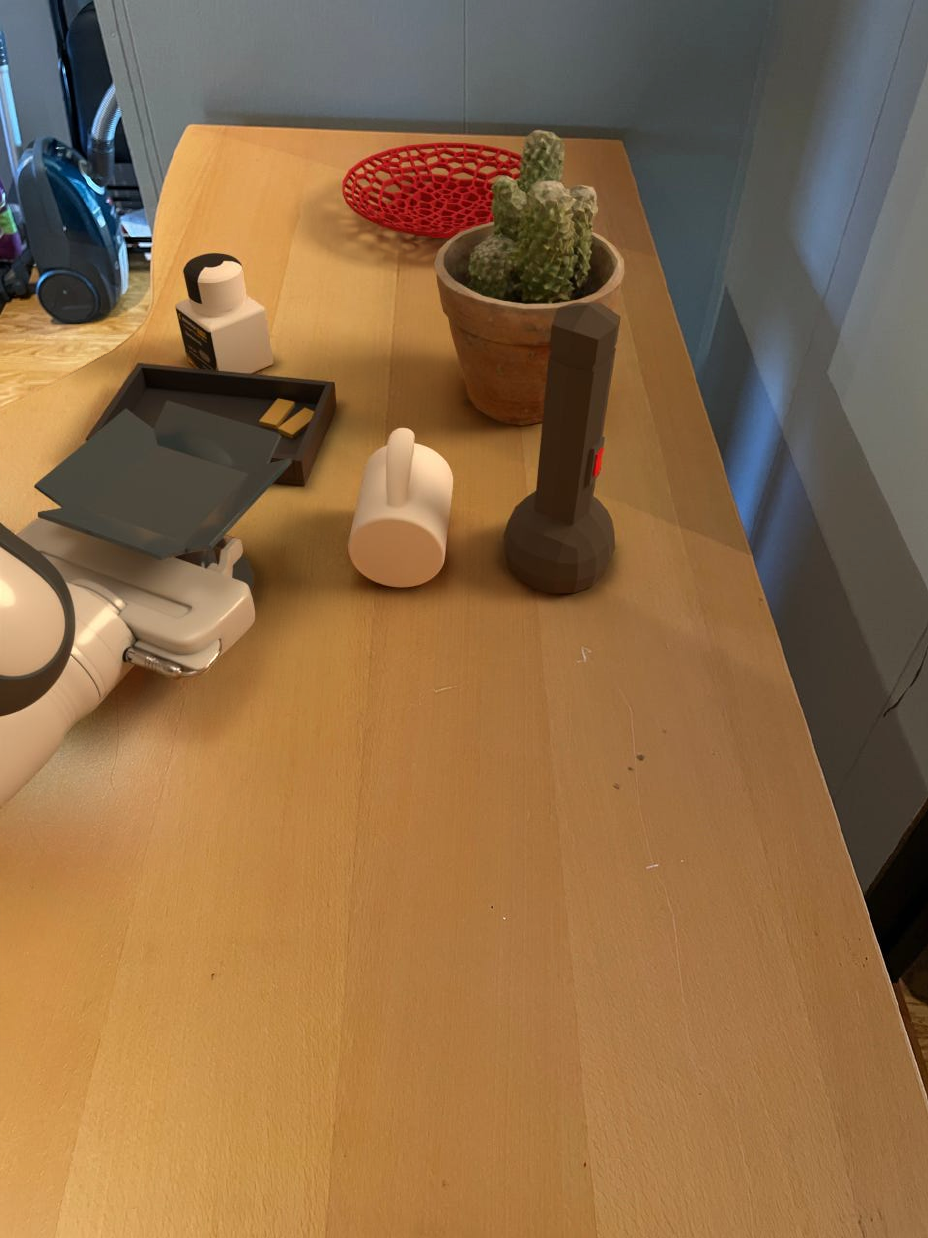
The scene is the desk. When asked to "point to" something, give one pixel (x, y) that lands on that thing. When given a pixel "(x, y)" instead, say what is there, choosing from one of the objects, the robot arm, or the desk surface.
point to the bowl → (429, 189)
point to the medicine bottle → (222, 318)
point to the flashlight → (569, 460)
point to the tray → (231, 405)
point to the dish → (165, 484)
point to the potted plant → (523, 281)
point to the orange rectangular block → (277, 413)
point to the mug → (402, 513)
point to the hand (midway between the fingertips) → (186, 526)
